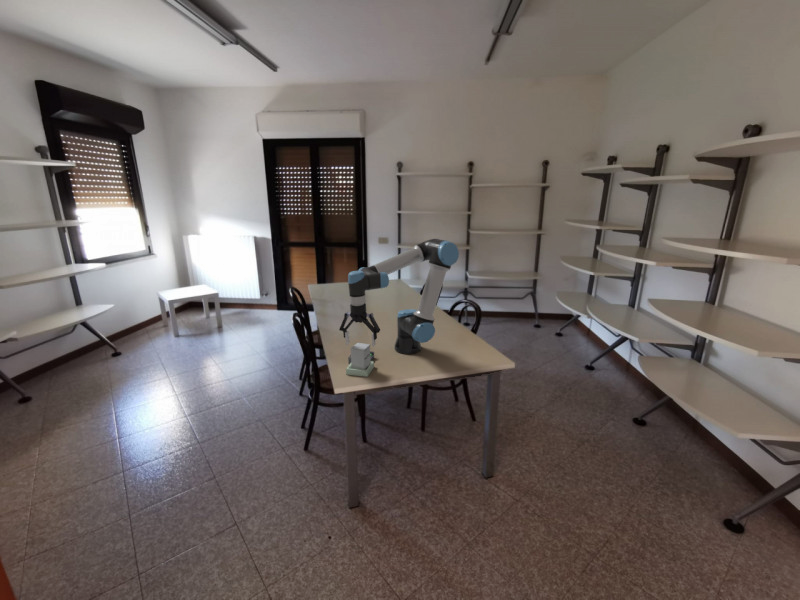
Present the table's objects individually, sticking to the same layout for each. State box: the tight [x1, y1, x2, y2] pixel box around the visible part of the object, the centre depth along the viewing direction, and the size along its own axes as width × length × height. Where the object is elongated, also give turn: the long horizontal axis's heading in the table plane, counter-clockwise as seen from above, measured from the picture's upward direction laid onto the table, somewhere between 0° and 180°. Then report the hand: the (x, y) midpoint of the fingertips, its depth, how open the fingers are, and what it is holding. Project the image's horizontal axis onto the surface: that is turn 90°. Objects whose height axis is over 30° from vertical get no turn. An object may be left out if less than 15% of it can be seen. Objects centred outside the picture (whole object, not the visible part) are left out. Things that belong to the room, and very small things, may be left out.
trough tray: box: [345, 360, 375, 378], centre depth 184 cm, size 11×11×3 cm
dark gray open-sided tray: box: [348, 350, 375, 365], centre depth 195 cm, size 11×10×4 cm
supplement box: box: [350, 342, 371, 370], centre depth 182 cm, size 7×7×13 cm
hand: (360, 344), depth 181 cm, fingers open, 13 cm apart
